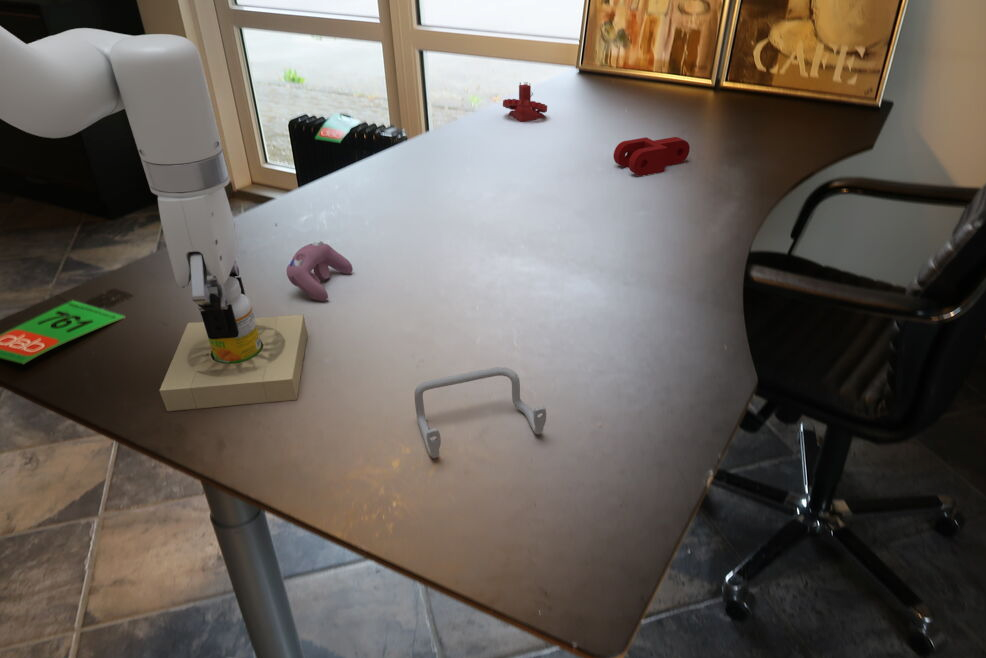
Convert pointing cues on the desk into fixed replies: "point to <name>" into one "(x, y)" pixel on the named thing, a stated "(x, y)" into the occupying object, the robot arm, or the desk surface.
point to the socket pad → (237, 368)
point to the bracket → (427, 434)
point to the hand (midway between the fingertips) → (228, 321)
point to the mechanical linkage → (650, 154)
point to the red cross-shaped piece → (525, 106)
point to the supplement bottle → (248, 335)
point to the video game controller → (315, 268)
